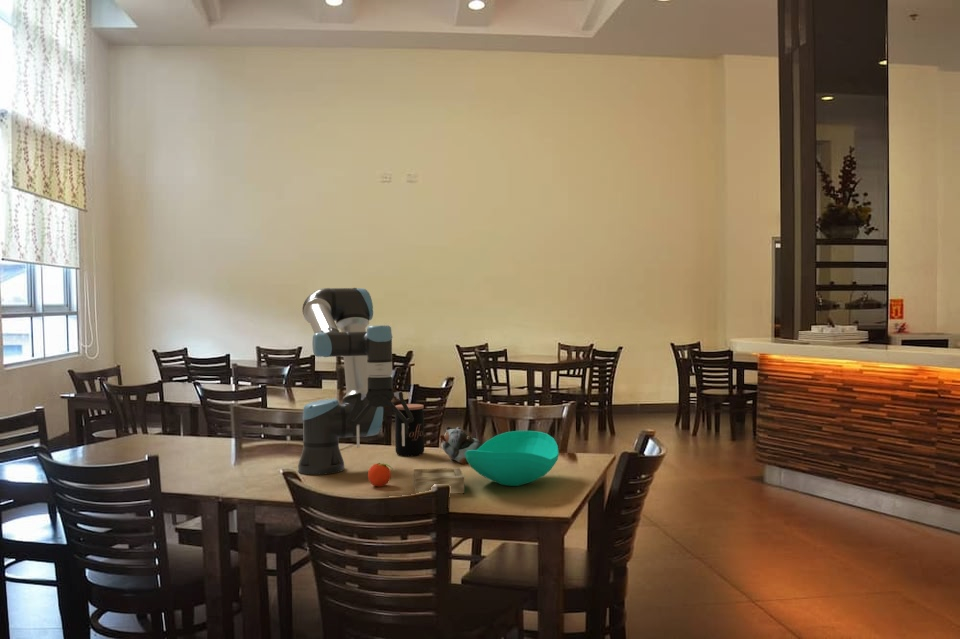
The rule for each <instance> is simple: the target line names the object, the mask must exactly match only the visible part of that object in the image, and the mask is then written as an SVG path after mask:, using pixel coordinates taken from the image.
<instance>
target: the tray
mask: <svg viewBox="0 0 960 639" xmlns="http://www.w3.org/2000/svg"><path fill="white" fill-rule="evenodd" d="M434 484H449V485H450V486H451V493H464V494H465V476H464V474H463V472H462V470H461V468H460V467H445V468H443V467H442V468H441V467H438V468H414V469H413V485H414V493H415V494H416V493H419V492H425V491H429V490H431V487H432V486H433V485H434Z"/></svg>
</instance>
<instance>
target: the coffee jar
mask: <svg viewBox="0 0 960 639" xmlns="http://www.w3.org/2000/svg"><path fill="white" fill-rule="evenodd" d="M406 404H407V406H408V408H409V410H410V412H411V414H412V416H413V418H414V421H413V422H410V423H409V424H408V434H407V435H405V446H402V423H404V422H403V421H402V420H401V419H400V418H399V416H398V415H397V414H396V413H395V412H394V420H395V421H394V425H395V426H394V427H395V428H394V430H395V435H394V436H395V438H394V439H395V453H396V454H397V456H401V457H417V456H421V455H423V454H424V452H425V412H424V410H423V409H424V408H425V407H424V404H420V403H406ZM395 406H396V407H397V409H398V410H399V411H400V412H401V413H402V414H403V415H404V416H405V418H406V419H408V418H409V417H408V415H407V413H406V411H405V410H404V408H403V406H402V404H397V405H395Z"/></svg>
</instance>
